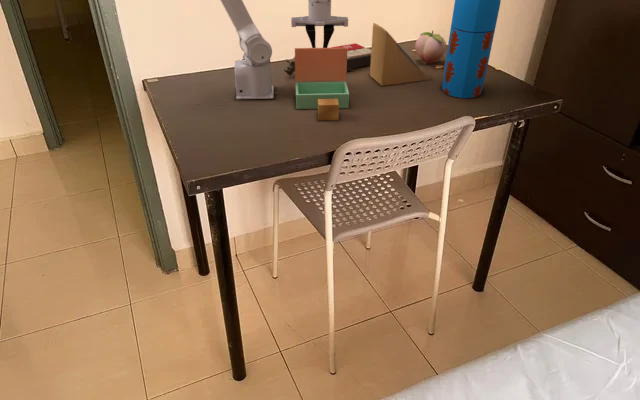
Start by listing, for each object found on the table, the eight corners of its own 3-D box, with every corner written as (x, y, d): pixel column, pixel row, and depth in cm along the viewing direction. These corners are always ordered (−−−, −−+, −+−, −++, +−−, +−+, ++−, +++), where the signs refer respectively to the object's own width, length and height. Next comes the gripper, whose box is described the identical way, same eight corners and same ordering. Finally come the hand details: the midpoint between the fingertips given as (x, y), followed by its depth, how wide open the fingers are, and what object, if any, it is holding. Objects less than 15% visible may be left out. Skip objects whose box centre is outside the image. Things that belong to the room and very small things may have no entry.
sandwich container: (431, 79, 144) (438, 26, 135) (382, 86, 140) (386, 31, 131) (416, 69, 150) (423, 17, 142) (369, 75, 146) (373, 22, 138)
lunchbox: (348, 108, 128) (349, 94, 125) (296, 109, 127) (296, 94, 125) (345, 95, 134) (346, 81, 132) (295, 95, 134) (295, 82, 131)
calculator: (378, 51, 152) (338, 58, 144) (377, 65, 154) (337, 73, 147) (356, 41, 159) (316, 48, 152) (354, 55, 162) (316, 62, 154)
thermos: (433, 86, 139) (447, -10, 125) (463, 80, 144) (480, -14, 129) (459, 101, 132) (477, 0, 117) (490, 93, 136) (511, -4, 121)
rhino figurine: (279, 77, 144) (278, 56, 141) (314, 66, 152) (314, 46, 148) (288, 81, 142) (287, 60, 138) (324, 69, 149) (324, 49, 146)
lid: (347, 48, 126) (346, 42, 129) (294, 48, 126) (294, 43, 129) (346, 80, 132) (344, 74, 135) (295, 81, 131) (295, 75, 134)
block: (318, 120, 122) (318, 105, 119) (317, 114, 125) (317, 98, 122) (338, 120, 122) (338, 104, 120) (337, 113, 125) (337, 98, 123)
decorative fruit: (449, 64, 154) (454, 31, 148) (433, 70, 149) (438, 36, 144) (424, 56, 160) (428, 24, 154) (408, 62, 155) (412, 29, 149)
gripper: (291, 4, 123) (292, 59, 131) (350, 4, 124) (348, 58, 132) (290, -3, 129) (292, 50, 137) (347, -3, 130) (345, 49, 137)
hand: (319, 53), depth 135 cm, fingers closed
